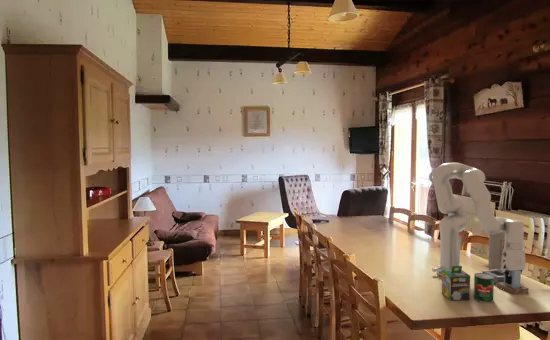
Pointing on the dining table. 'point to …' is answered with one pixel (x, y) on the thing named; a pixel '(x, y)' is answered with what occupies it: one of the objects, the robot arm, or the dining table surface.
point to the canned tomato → (483, 287)
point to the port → (496, 275)
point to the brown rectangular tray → (512, 290)
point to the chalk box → (456, 284)
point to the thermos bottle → (496, 250)
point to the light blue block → (514, 279)
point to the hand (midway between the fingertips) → (511, 282)
